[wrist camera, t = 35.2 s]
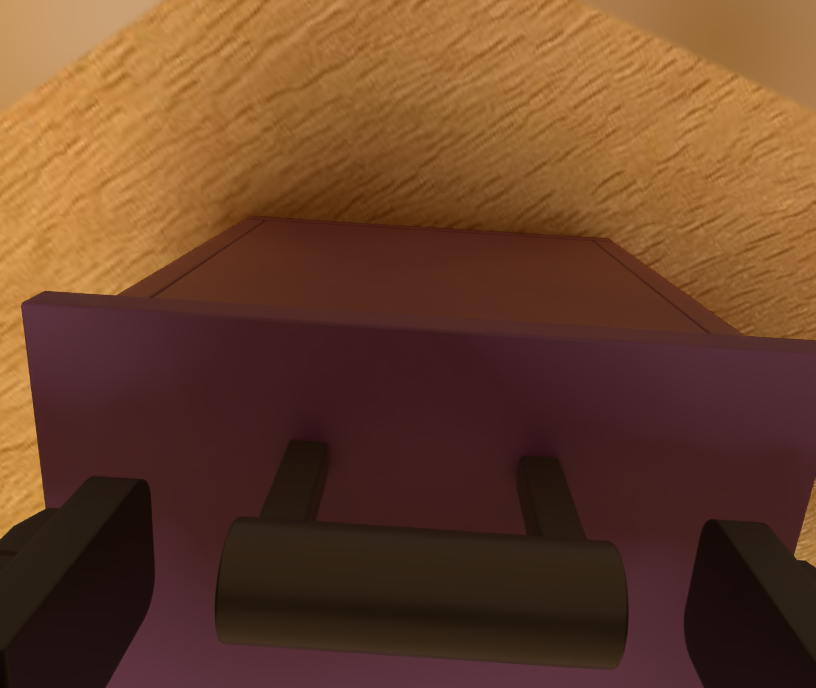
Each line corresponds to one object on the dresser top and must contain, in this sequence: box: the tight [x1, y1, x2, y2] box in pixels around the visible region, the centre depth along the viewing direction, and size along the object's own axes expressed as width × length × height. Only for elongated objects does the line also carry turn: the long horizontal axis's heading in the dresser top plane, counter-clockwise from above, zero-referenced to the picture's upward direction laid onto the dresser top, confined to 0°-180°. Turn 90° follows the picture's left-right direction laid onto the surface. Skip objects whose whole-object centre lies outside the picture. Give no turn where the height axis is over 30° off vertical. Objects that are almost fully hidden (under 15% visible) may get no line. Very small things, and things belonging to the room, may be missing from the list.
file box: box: [116, 216, 745, 336], centre depth 23 cm, size 17×14×15 cm
